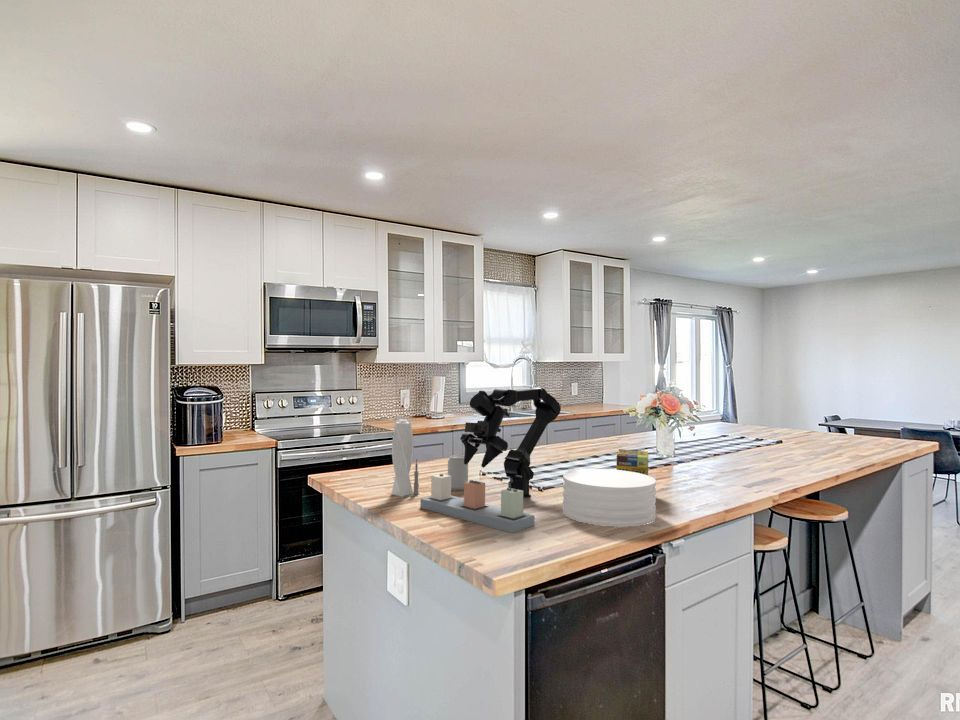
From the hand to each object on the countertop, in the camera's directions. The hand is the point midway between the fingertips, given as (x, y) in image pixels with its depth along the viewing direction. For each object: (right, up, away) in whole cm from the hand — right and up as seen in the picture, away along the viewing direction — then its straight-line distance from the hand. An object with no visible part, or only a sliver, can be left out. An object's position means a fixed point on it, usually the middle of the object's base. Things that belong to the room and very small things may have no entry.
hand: (473, 465), depth 176 cm
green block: (+11, -10, -21) cm, 26 cm away
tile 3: (0, -10, -12) cm, 15 cm away
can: (-6, -14, +25) cm, 29 cm away
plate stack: (+42, -14, -7) cm, 45 cm away
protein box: (+56, -14, +15) cm, 59 cm away
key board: (0, -13, -12) cm, 17 cm away
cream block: (-10, -10, -2) cm, 15 cm away
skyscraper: (-25, -14, +14) cm, 32 cm away
